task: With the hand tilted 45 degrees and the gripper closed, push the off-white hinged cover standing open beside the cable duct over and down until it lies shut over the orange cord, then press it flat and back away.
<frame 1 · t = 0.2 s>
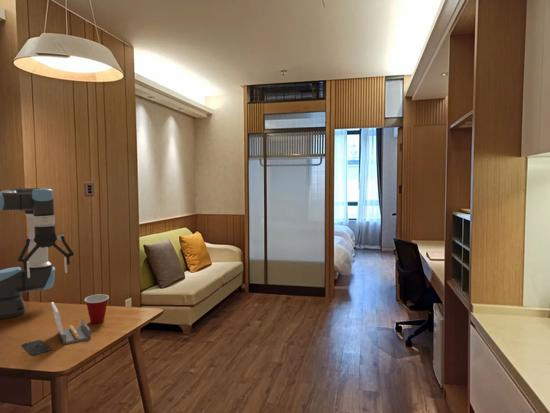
hand: (47, 274, 159), 28 cm above the table, tool pointing down, fingers open, 13 cm apart
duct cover: (57, 317, 159), point 9 cm above the table, hinge at 100.0°
plastic cup: (97, 322, 181), on the table
cable duct: (74, 335, 163), on the table
smartphone: (36, 349, 151), on the table
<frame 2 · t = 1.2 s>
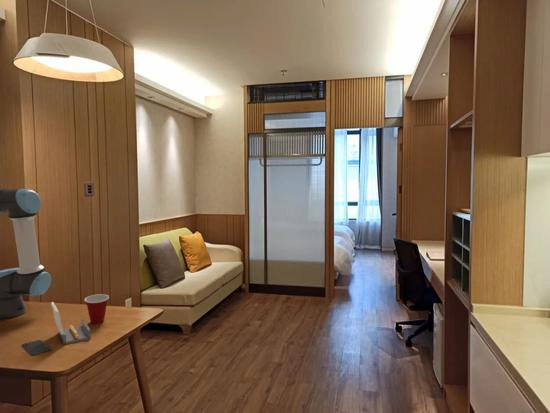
nothing on the table moved.
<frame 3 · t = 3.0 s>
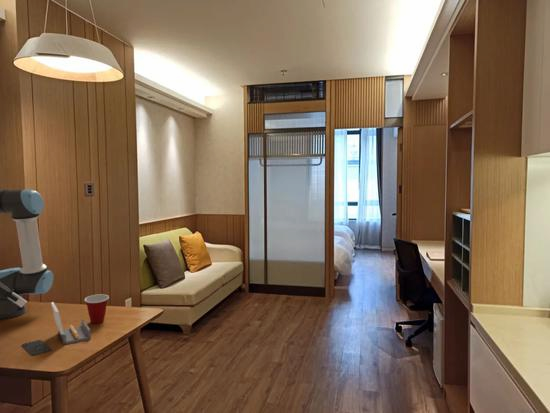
hand: (24, 304, 151), 18 cm above the table, tool tilted 45°, fingers closed
nothing on the table moved.
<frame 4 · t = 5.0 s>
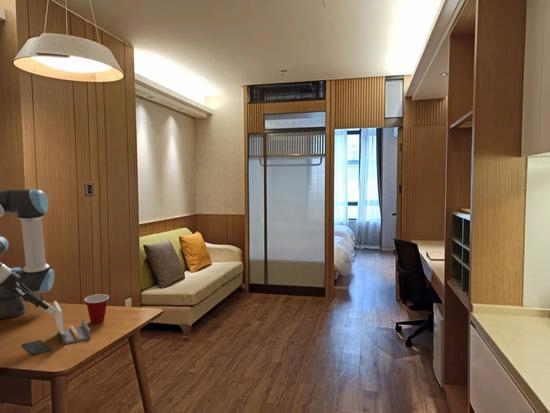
hand: (53, 312, 158), 12 cm above the table, tool tilted 45°, fingers closed
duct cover: (58, 317, 159), point 9 cm above the table, hinge at 93.5°, touching gripper
everything else where it was.
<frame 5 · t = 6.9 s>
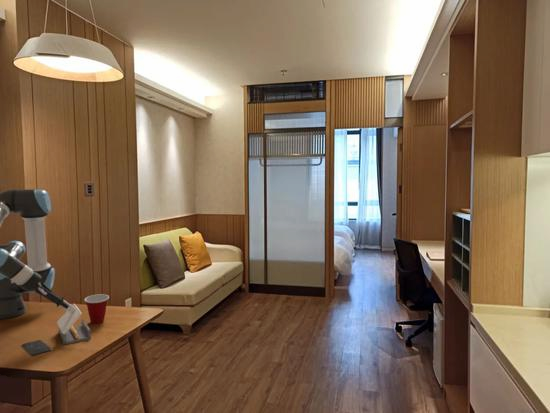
hand: (73, 311, 162), 11 cm above the table, tool tilted 45°, fingers closed
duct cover: (69, 318, 162), point 8 cm above the table, hinge at 46.5°, touching gripper
everything else where it was.
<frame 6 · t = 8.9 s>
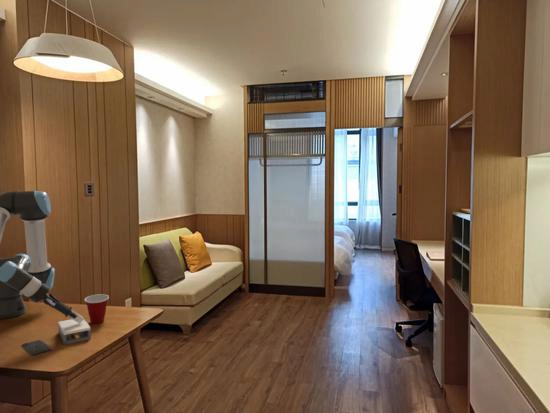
hand: (81, 320, 164), 6 cm above the table, tool tilted 45°, fingers closed
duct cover: (74, 325, 163), point 5 cm above the table, hinge at -0.3°, touching cable duct, gripper
everything else where it was.
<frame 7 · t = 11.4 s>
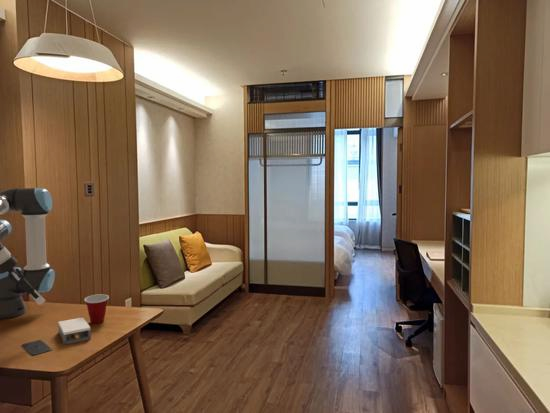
hand: (42, 302, 158), 16 cm above the table, tool tilted 35°, fingers closed
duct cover: (74, 325, 163), point 5 cm above the table, hinge at -0.3°, touching cable duct
everything else where it was.
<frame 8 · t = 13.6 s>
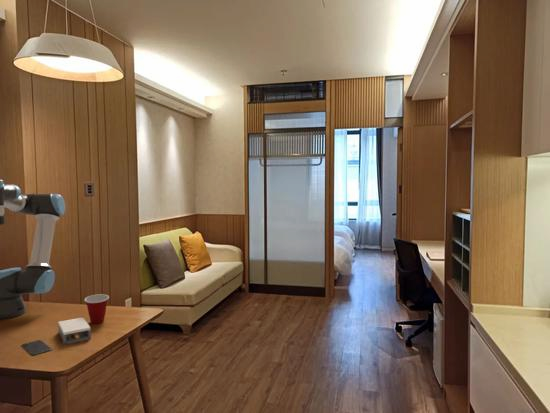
nothing on the table moved.
at the end: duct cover at +0° (first picture: +100°); plastic cup moved 0.2 cm from its start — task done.
